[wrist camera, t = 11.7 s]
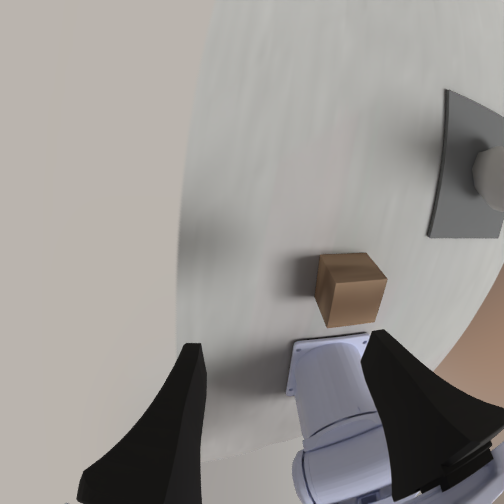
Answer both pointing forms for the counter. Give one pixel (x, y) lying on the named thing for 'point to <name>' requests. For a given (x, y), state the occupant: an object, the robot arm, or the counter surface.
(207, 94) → the counter surface
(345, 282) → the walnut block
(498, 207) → the salt shaker
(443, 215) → the rubber mat
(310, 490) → the robot arm
